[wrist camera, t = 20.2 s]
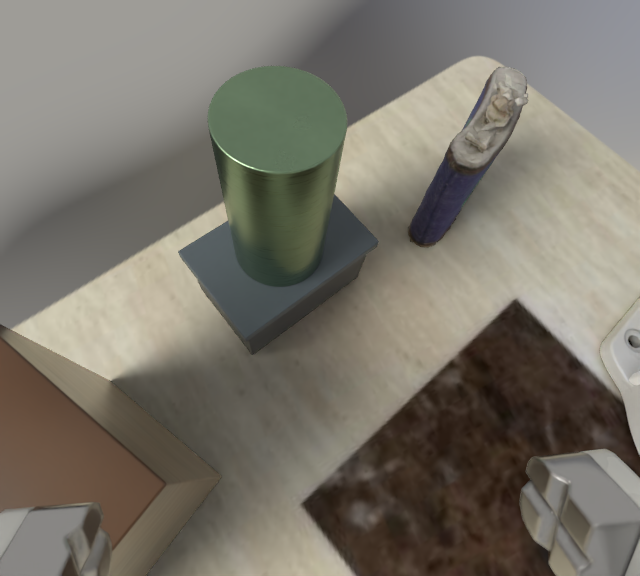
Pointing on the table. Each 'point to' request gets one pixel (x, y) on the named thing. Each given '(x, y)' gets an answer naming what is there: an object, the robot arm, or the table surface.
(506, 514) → the table surface
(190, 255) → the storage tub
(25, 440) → the block
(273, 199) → the tin
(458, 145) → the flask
